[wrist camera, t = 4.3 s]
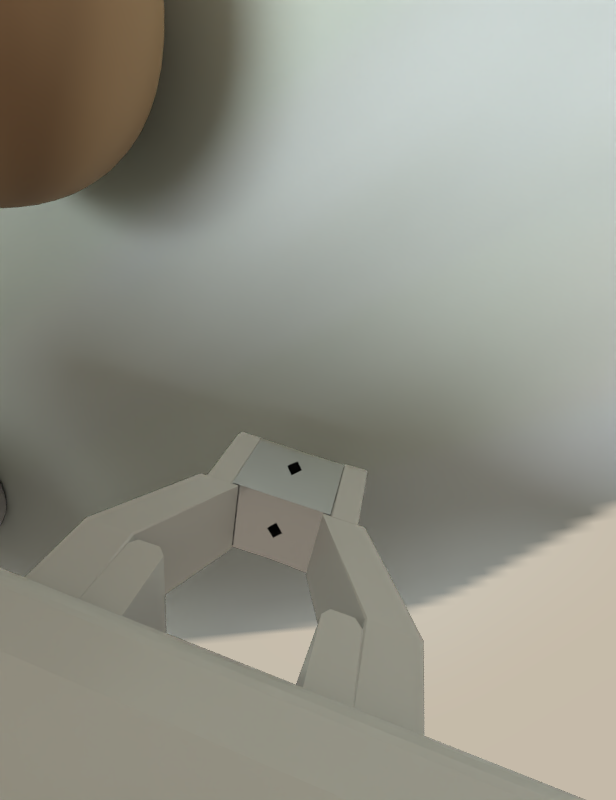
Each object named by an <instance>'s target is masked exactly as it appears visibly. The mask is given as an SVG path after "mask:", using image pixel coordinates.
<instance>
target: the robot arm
mask: <svg viewBox="0 0 616 800" xmlns="http://www.w3.org/2000/svg"><path fill="white" fill-rule="evenodd" d="M366 479H367V470H364V469H361V468H357V467H354V466H350V465H347V464H345V466H344V464H341V463H338V462H335V461H332V460H328V459H325V458H322V457H318V456H315V455H312V454H309V453H305V452H303V451H300V450H297V449H294V448H291V447H288V446H285V445H282V444H279V443H276V442H273V441H270V440H267V439H264V438H263V439H262V438H260V437H257V436H254V435H251V434H248V433H245V432H241V433H239V434H238V435H237V436H236V437H235V439H234V440H233V441H232V443H231V444H230V445H229V447H228V448H227V449H226V451H225V452H224V453H223V455H222V456H221V457H220V459H219V460H218V461H217V463H216V464H215V465H214V466H213V468H212V469H211V470H210V472H209V473H208V474H207V475H205V474H202V473H200V474H197V475H195V476H192V477H189V478H187V479H184V480H182V481H179V482H176V483H174V484H171V485H169V486H166V487H164V488H161V489H158V490H156V491H153V492H151V493H148V494H145V495H143V496H140V497H138V498H135V499H132V500H130V501H127V502H125V503H122V504H120V505H117V506H114V507H112V508H109V509H107V510H104V511H101V512H99V513H96V514H94V515H91V516H88V517H86V518H85V519H84V520H83V521H82V522H81V523H80V524H79V525H78V526H77V527H76V528H75V529H74V530H73V531H72V532H71V533H70V534H68V535H67V536H66V537H65V538H64V539H63V540H62V541H61V542H60V543H59V544H58V545H57V546H56V547H55V548H54V549H53V550H52V551H51V552H50V553H49V554H48V555H47V556H46V557H45V558H44V559H43V560H42V561H41V562H40V563H39V564H37V565H36V566H35V567H34V568H33V569H32V570H31V571H30V572H29V573H28V574H27V575H26V576H25V577H23V576H20V575H18V574H15V573H13V572H10V571H8V570H5V569H3V568H0V800H585V799H583V798H580V797H577V796H575V795H572V794H570V793H567V792H565V791H562V790H560V789H557V788H555V787H552V786H550V785H547V784H545V783H542V782H540V781H537V780H535V779H532V778H529V777H527V776H524V775H522V774H519V773H517V772H514V771H512V770H509V769H507V768H504V767H502V766H499V765H497V764H494V763H492V762H489V761H486V760H484V759H481V758H479V757H476V756H474V755H471V754H469V753H466V752H464V751H461V750H459V749H456V748H454V747H451V746H448V745H446V744H444V743H441V742H439V741H436V740H434V739H431V738H429V737H426V736H424V651H423V650H424V645H423V639H422V637H421V635H420V633H419V632H418V630H417V628H416V626H415V624H414V622H413V620H412V618H411V616H410V614H409V612H408V610H407V608H406V606H405V604H404V602H403V600H402V598H401V596H400V595H399V593H398V591H397V589H396V587H395V585H394V583H393V581H392V579H391V577H390V575H389V573H388V571H387V569H386V567H385V565H384V563H383V562H382V560H381V558H380V556H379V554H378V552H377V550H376V548H375V546H374V544H373V542H372V540H371V538H370V536H369V534H368V532H367V530H366V529H365V527H362V526H359V525H358V523H359V517H360V512H361V506H362V501H363V495H364V490H365V484H366ZM232 547H235V548H238V549H241V550H244V551H247V552H250V553H254V554H257V555H260V556H263V557H266V558H269V559H272V560H274V561H277V562H279V563H282V564H285V565H287V566H290V567H292V568H295V569H298V570H300V571H303V572H305V573H306V578H307V582H308V586H309V590H310V594H311V598H312V602H313V606H314V611H315V615H316V619H317V623H318V625H317V628H316V630H315V633H314V636H313V639H312V642H311V645H310V647H309V650H308V653H307V656H306V658H305V661H304V664H303V667H302V670H301V672H300V675H299V678H298V681H297V683H296V685H295V684H293V683H290V682H288V681H285V680H283V679H280V678H278V677H275V676H272V675H270V674H267V673H265V672H263V671H260V670H258V669H255V668H252V667H250V666H248V665H245V664H243V663H240V662H237V661H235V660H232V659H230V658H227V657H225V656H222V655H220V654H217V653H215V652H212V651H210V650H207V649H205V648H202V647H199V646H197V645H195V644H192V643H190V642H187V641H184V640H182V639H179V638H177V637H174V636H172V635H169V634H167V633H166V611H165V595H166V594H167V593H168V592H170V591H171V590H173V589H174V588H176V587H177V586H179V585H180V584H181V583H183V582H184V581H186V580H187V579H189V578H190V577H192V576H193V575H194V574H196V573H197V572H199V571H200V570H202V569H203V568H205V567H206V566H208V565H209V564H210V563H212V562H213V561H215V560H216V559H218V558H219V557H221V556H222V555H223V554H225V553H226V552H228V551H229V550H231V548H232Z"/></svg>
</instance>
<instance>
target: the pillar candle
mask: <svg viewBox="0 0 616 800" xmlns="http://www.w3.org/2000/svg"><path fill="white" fill-rule="evenodd" d="M5 513H6V499H5V496H4V491H3V489H2V486H1V483H0V525H1V523H2V521H3V519H4V516H5Z"/></svg>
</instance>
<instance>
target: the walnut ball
mask: <svg viewBox="0 0 616 800" xmlns="http://www.w3.org/2000/svg"><path fill="white" fill-rule="evenodd" d="M163 46H164V0H0V208H12V207H23V206H31V205H38V204H42V203H46V202H50V201H54V200H57V199H60V198H63V197H66V196H69V195H72V194H74V193H76V192H78V191H80V190H82V189H84V188H86V187H88V186H89V185H91V184H93V183H94V182H96V181H97V180H99V179H100V178H101V177H103V176H104V175H105V174H107V173H108V172H109V171H111V170H112V169H113V168H114V167H115V165H116V164H117V163H118V162H119V161H120V160H121V159H122V158H123V157H124V156H125V154H126V153H127V152H128V151H129V150H130V148H131V147H132V145H133V144H134V142H135V141H136V139H137V138H138V136H139V135H140V133H141V131H142V129H143V127H144V124H145V122H146V120H147V118H148V116H149V114H150V110H151V107H152V104H153V101H154V98H155V95H156V91H157V87H158V82H159V77H160V72H161V66H162V56H163Z"/></svg>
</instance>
